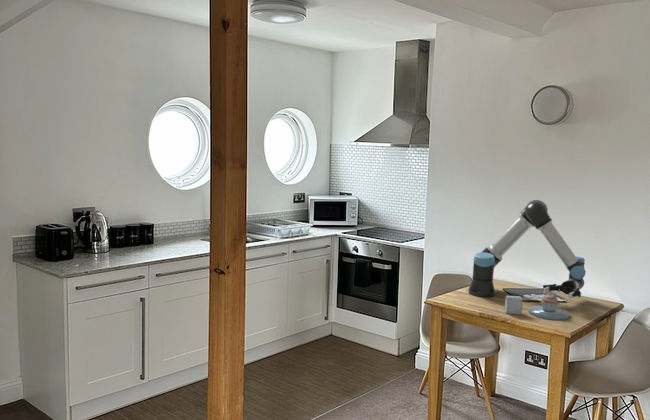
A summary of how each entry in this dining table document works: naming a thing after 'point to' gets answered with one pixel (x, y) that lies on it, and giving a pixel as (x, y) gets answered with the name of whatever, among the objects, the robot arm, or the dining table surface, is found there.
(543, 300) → the cupcake
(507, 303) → the medicine box
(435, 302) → the dining table surface
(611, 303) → the dining table surface
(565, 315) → the dish
